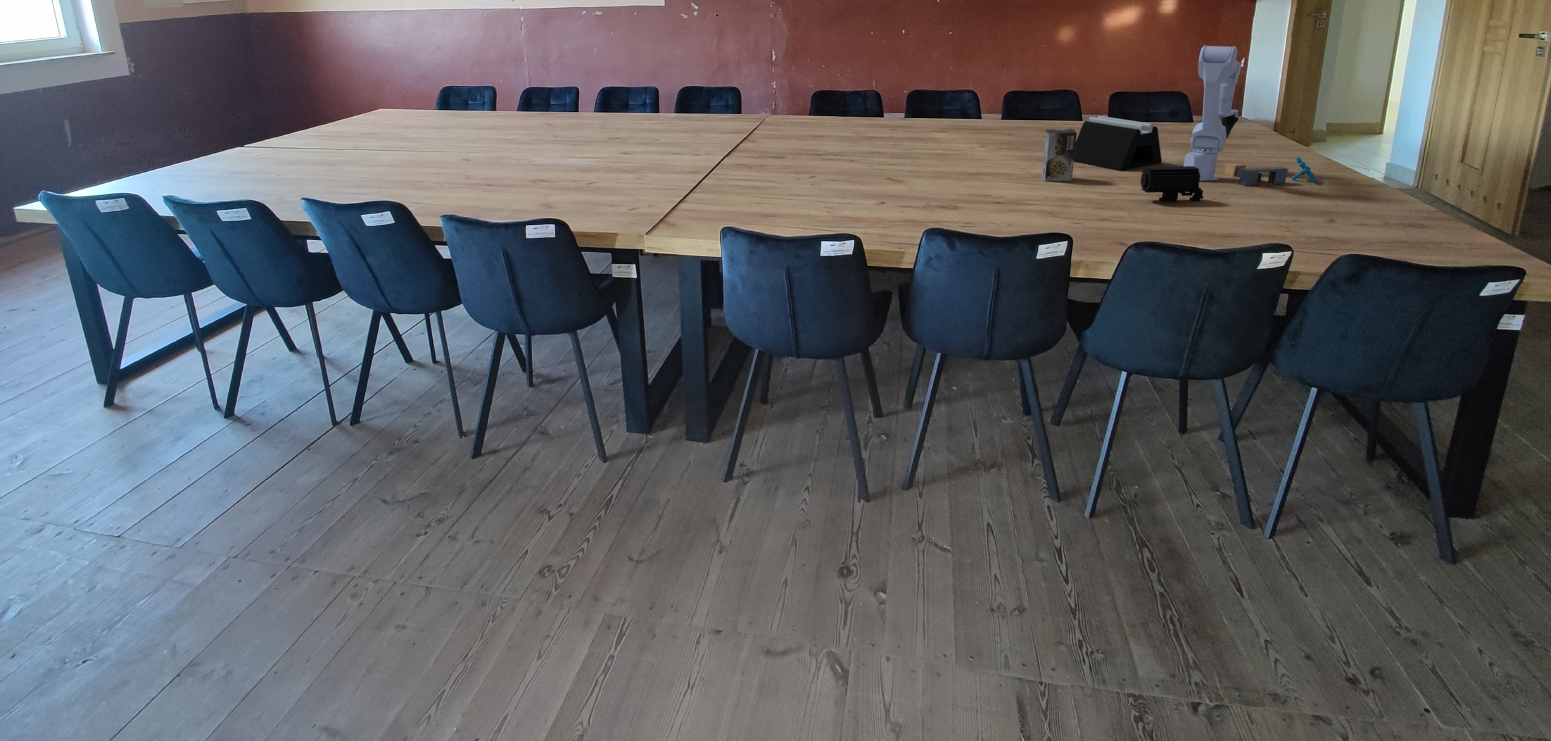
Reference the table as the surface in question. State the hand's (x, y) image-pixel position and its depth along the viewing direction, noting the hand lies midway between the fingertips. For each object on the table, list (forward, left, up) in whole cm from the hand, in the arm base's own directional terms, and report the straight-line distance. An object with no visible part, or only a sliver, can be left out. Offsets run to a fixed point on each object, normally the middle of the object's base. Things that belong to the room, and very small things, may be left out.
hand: (1216, 139), depth 311 cm
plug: (+4, -13, -11) cm, 17 cm away
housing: (+4, -23, -10) cm, 25 cm away
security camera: (-36, -37, -11) cm, 53 cm away
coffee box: (-57, -2, -11) cm, 58 cm away
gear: (+20, -21, -11) cm, 31 cm away
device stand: (-25, +20, -11) cm, 34 cm away
